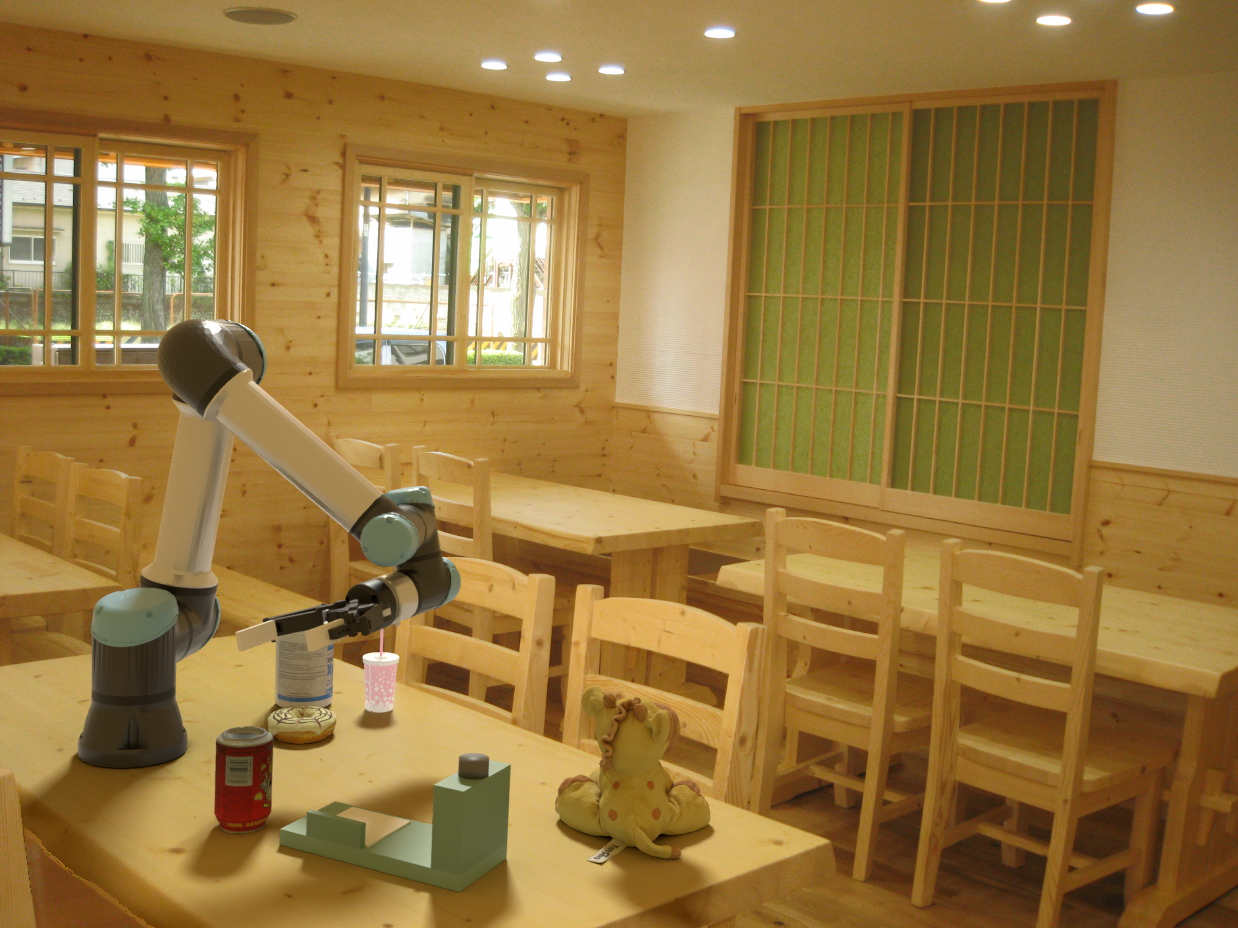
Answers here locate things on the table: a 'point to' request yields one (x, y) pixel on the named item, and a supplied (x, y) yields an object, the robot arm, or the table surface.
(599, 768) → the giraffe plush
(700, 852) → the table surface
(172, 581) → the robot arm
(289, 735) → the decorated donut
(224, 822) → the soda can
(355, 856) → the green stepped fixture
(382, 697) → the beverage cup
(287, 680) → the supplement tub
